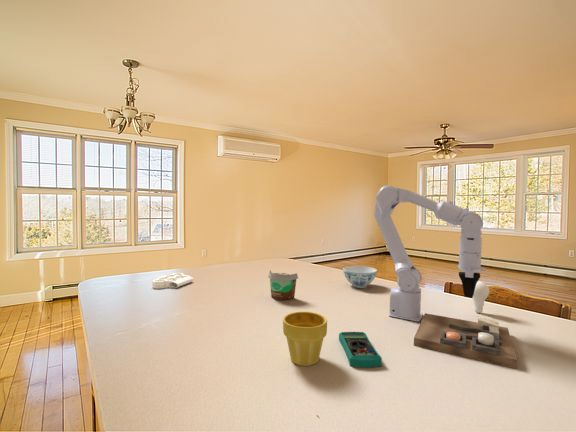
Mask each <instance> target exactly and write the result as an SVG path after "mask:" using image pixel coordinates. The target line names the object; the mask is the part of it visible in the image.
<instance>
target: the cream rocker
mask: <svg viewBox="0 0 576 432" xmlns="http://www.w3.org/2000/svg"><path fill="white" fill-rule="evenodd" d="M476 322H477V325H480V326H483V325H486V326H492V327H497V328H498V330H499V326H500V323H499V322H498V321H495V320H492V319H490V318H486V317H482V316H479V315H478V316H477V320H476Z"/></svg>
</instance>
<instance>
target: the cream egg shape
mask: <svg viewBox="0 0 576 432" xmlns="http://www.w3.org/2000/svg"><path fill="white" fill-rule="evenodd" d="M478 342H480V343H482V344H485V345H493V342H494V336H493V335H491V334H489V333H484V332H480V333H478Z"/></svg>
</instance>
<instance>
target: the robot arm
mask: <svg viewBox="0 0 576 432" xmlns="http://www.w3.org/2000/svg"><path fill="white" fill-rule="evenodd" d="M400 203H411V204H413V205H416V206H419V207H421V208H423V209H426V210H429V211H431V212H433V214H434V216H435V218H437V219H440V220H442V221H444V222H446V223H448V224H450V225H453V226H456V227H457V226H460V230H461V231H460V236H459V251H458V252H459V254H458V256H459V257H458V265H457V268H458V269H459V270H461V271H459V272H458V276H459V279H460V281H461V284H462V291H463V296H464V298H465V297H466V298H472V297H473V295H474V291H475V286H476V284H477V282H478V281H480V279H481V273H480V272H481V271H486V267H482V245H483V243H482V241H483V240H482V239H483V237H482V233H483V231H482V228H483V226H484V222H483V219H482V217H481V215H480V214H478V213H476V212H475V211H469V210H470V209H469V208H468V207H465V208H463V207H461V206H458V205H456V204H454V201H451V200H448V201H446V200H443V201H442V200H441V202H437V201H435V200H432V199H430V198H428V197H426V196H424V195H421V194H419V193H416V192H415V191H413V190H409V189H405V188H400V187H397V186H393V185H389V184H386V185H384V186H382V187H381V188H379V190H378V192H377V194H376V195H375V206H374V213H373V215H374V219H375V222H376V223H377V226H378V228H379V230H380V233H381V235H382V237H383V240H384V241H385V245H386V247H387V249H388V251H389V254H390V256H391V258H392V261H393V264H394V269H395V270H394V271H395V273H396V277H397V278H396V283H397V287H391V290H390V295H389V315H388V316H389V317H392V318H398V319H402V320H408V321H413V322H420V323H421V321H422V319H423V317H424V313H423V312H421V307H422V306H421V303H422V302H421V301H422V288H421V287H420V285H419V284H420V283H421V282H422V279H423V278H422V273H421V272H420V270H419V269H417V268H416V266H415V264H414V263H413V261H412V260H411V259H410V257H409V255H408V252H407V250H406V248H405V246H404V243H403V241H402V239H401V236H400V235H399V232H398V229H397V227H396V225H395V223H394V221H393V218H392V215H393V212H394V210H395V208H396V207H397V206H398V205H399V204H400Z"/></svg>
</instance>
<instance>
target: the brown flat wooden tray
mask: <svg viewBox="0 0 576 432" xmlns="http://www.w3.org/2000/svg"><path fill="white" fill-rule="evenodd" d="M447 332H456V333H458V334H460V335H461V337H460V341H456V340H451V339H447V338H446V333H447ZM480 332H484V333H489V326H486V325H483V326H480V325H477V321H471V320H467V319H466V320H465V319H460V318H455V317H454V318H453V317H450V316H449V317H448V316H442V315H439V314H437V315H436V314H432V313H427V312H424V313H423V316H422V318H421V320H420V323H419V325H418V328H417V330H416V332H415V335H414V337H413V346H416V347H421V348H424V349H429V350H434V351H438V352H441V353H446V354H450V355H455V356H460V357H463V358H469V359H473V360H477V361H478V360H479V361H482V362H487V363H490V364H495V365H499V366H502V367H504V366H505V367H508V368H512V369H517V366H518V358H517V355H516V351H515V348H514V345H513V340H512V339H511V337H512V336H511V334H510V331H509V328H508V327H505V326H500V325H499V340H494V342H493V345H485V344H482V343H480V342H478V333H480Z"/></svg>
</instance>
